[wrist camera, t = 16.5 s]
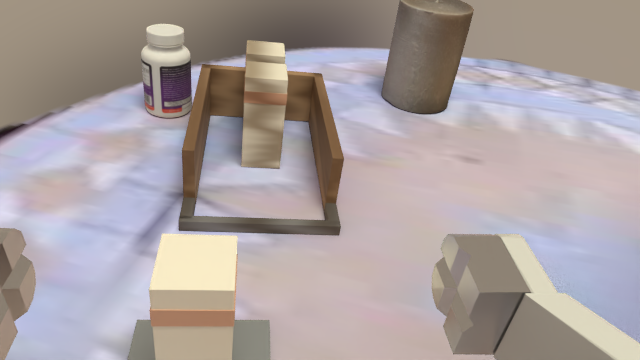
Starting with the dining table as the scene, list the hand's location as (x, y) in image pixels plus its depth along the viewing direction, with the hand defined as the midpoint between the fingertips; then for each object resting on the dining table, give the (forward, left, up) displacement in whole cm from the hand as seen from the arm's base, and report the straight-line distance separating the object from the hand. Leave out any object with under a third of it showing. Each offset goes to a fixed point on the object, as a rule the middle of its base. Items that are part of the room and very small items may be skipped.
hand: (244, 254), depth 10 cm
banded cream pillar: (+2, -12, -22) cm, 25 cm away
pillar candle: (-24, -57, -22) cm, 65 cm away
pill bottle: (+9, -49, -22) cm, 54 cm away
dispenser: (-2, -37, -22) cm, 44 cm away
